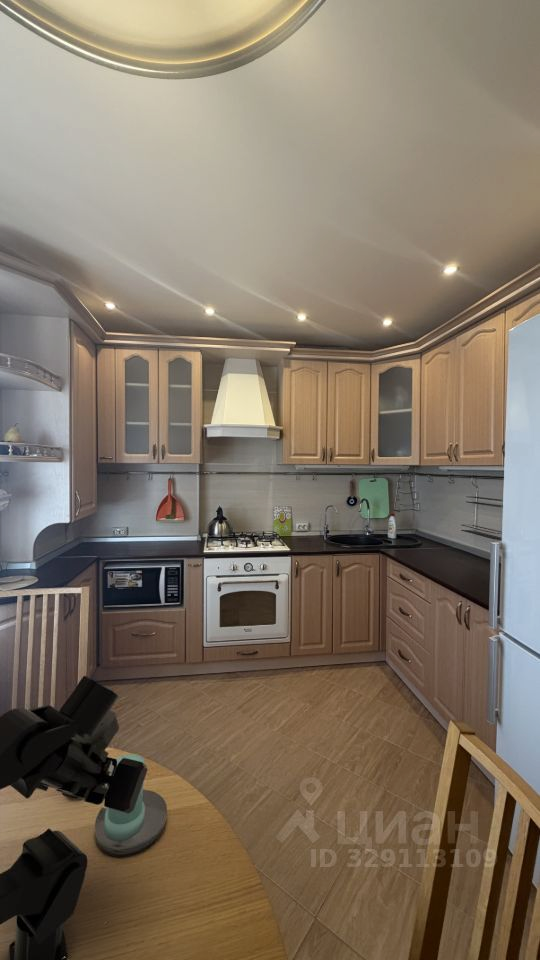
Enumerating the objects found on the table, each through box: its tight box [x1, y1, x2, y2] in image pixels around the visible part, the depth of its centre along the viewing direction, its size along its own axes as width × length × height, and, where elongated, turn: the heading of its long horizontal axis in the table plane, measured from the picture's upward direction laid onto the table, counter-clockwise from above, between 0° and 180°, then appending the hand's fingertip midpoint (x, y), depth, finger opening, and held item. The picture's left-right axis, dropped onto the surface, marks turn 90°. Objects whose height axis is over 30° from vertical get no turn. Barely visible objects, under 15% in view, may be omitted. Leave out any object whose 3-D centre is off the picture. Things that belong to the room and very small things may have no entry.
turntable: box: [94, 789, 168, 851], centre depth 76 cm, size 13×13×1 cm
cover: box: [104, 753, 145, 841], centre depth 74 cm, size 7×7×11 cm
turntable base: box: [95, 826, 165, 858], centre depth 76 cm, size 12×12×1 cm
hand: (107, 786), depth 68 cm, fingers closed
